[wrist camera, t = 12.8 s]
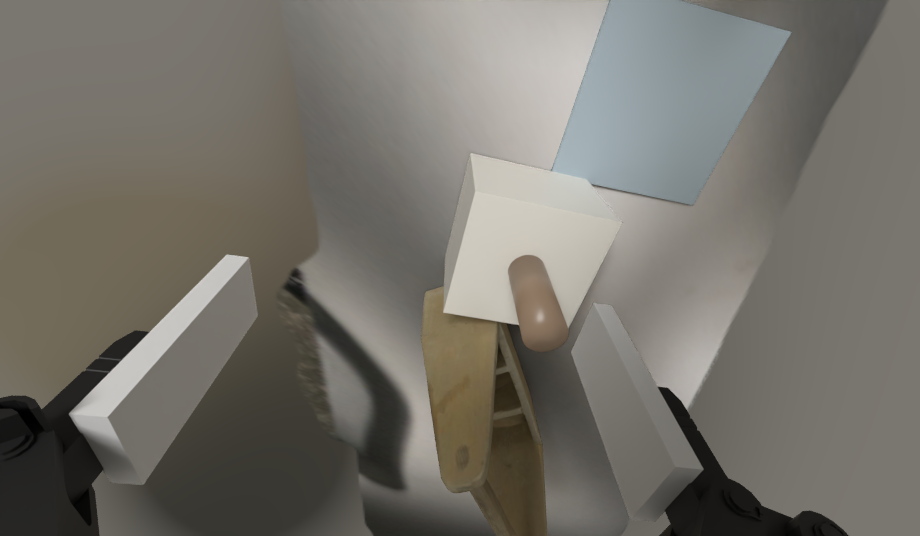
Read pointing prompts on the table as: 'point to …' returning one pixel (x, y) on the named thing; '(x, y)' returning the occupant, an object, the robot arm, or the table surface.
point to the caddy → (484, 418)
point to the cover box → (525, 248)
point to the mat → (664, 96)
